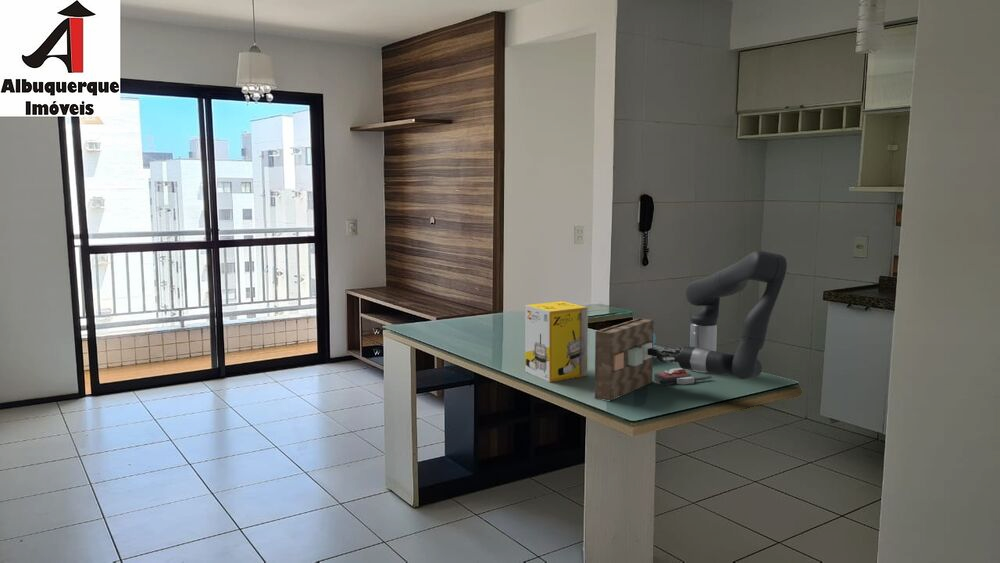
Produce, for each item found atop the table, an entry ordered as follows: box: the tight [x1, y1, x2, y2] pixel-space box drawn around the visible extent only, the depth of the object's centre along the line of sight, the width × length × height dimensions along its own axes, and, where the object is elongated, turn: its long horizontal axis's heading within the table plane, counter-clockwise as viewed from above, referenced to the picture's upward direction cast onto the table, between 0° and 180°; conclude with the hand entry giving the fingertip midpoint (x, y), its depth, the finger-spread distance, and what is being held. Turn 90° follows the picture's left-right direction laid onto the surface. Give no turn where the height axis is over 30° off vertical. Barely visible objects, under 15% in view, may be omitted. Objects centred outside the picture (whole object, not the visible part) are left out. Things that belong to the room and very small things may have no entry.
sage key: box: [628, 347, 643, 366], centre depth 234 cm, size 5×4×5 cm
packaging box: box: [524, 300, 589, 383], centre depth 257 cm, size 16×16×25 cm
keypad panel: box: [594, 317, 655, 401], centre depth 236 cm, size 28×6×22 cm, turn 140°
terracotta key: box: [613, 352, 624, 371], centre depth 229 cm, size 5×4×5 cm
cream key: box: [642, 342, 652, 360], centre depth 242 cm, size 5×4×5 cm
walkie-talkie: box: [653, 367, 713, 386], centre depth 248 cm, size 9×4×20 cm
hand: (648, 351), depth 240 cm, fingers closed
